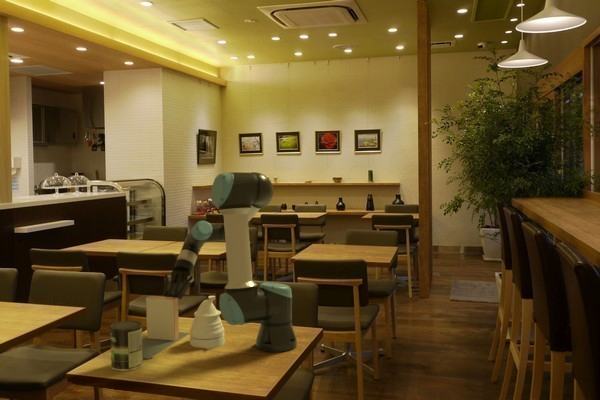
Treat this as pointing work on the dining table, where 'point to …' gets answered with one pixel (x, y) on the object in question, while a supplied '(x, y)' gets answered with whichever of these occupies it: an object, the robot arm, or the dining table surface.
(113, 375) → the dining table surface
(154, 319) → the tile
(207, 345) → the honey pot
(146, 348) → the mat
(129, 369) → the coffee can
